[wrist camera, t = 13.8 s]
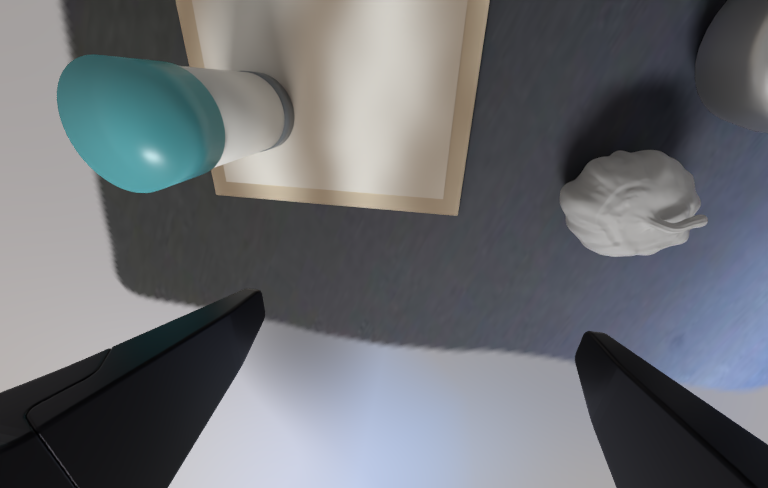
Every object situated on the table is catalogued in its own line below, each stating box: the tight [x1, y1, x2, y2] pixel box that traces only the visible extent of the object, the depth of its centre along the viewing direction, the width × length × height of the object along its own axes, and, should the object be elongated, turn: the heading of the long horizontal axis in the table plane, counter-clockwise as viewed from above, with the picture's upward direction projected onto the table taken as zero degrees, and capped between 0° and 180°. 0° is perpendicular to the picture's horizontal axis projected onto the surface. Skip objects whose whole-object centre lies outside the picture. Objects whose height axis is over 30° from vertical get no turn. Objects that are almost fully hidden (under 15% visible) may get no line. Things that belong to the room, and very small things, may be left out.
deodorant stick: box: [57, 55, 294, 193], centre depth 14 cm, size 4×4×9 cm
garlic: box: [560, 150, 708, 257], centre depth 16 cm, size 6×5×5 cm
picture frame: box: [176, 0, 490, 216], centre depth 16 cm, size 16×20×1 cm
